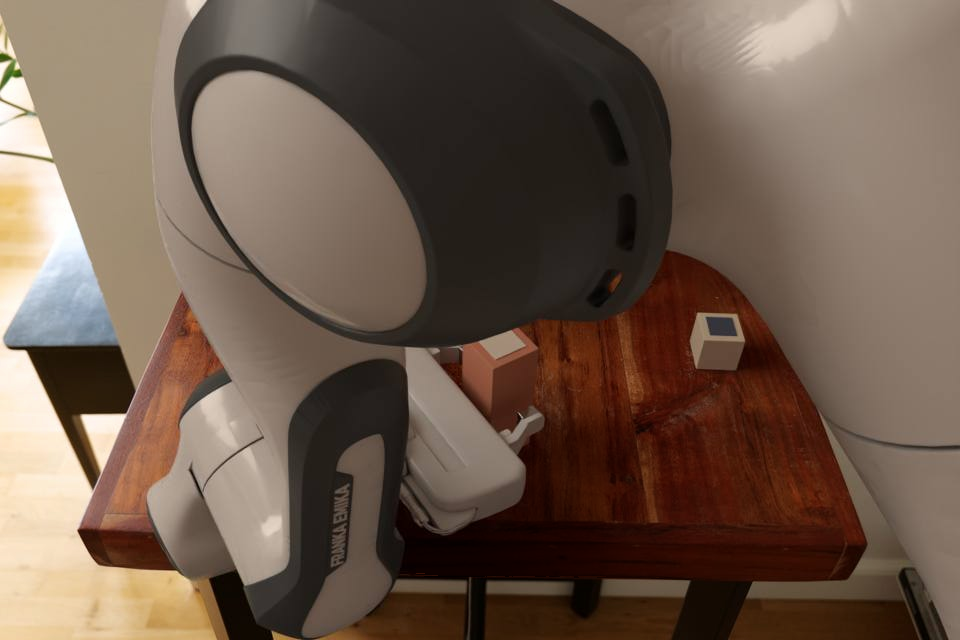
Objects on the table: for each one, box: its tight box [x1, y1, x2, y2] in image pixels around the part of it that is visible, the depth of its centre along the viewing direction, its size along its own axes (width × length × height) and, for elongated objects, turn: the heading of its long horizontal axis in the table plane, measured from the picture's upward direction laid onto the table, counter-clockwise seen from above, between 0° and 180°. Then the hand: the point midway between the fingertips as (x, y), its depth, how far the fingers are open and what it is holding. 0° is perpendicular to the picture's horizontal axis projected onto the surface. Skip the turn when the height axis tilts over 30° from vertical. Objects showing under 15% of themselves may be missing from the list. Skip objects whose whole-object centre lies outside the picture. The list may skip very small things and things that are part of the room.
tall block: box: [461, 327, 540, 448], centre depth 74 cm, size 4×4×12 cm
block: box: [689, 312, 746, 371], centre depth 85 cm, size 4×4×4 cm
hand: (506, 380), depth 73 cm, fingers open, 8 cm apart
